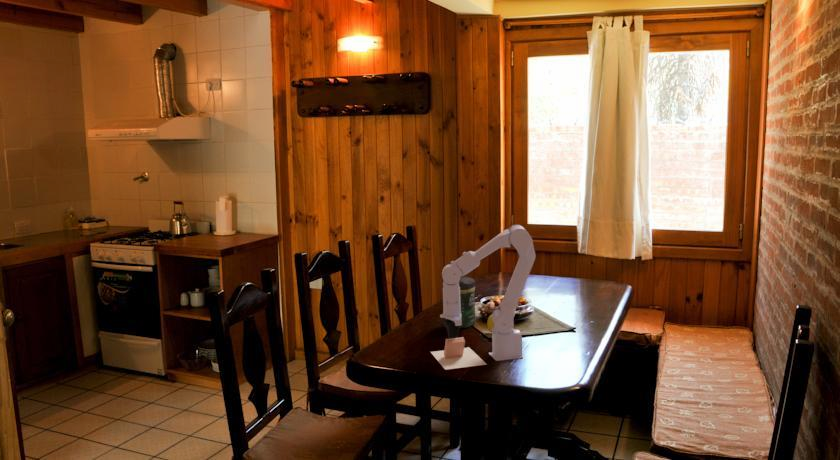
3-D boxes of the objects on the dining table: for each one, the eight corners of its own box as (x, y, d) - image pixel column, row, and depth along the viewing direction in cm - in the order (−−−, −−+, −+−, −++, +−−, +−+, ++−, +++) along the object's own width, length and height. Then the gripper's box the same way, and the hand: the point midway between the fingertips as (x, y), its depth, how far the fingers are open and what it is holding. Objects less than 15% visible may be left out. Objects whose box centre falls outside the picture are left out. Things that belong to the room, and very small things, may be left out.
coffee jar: (467, 329, 255) (466, 281, 252) (449, 327, 259) (447, 280, 256) (479, 323, 263) (478, 276, 260) (461, 320, 267) (460, 274, 264)
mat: (469, 348, 233) (469, 347, 233) (486, 365, 216) (486, 364, 216) (430, 353, 230) (430, 351, 230) (445, 370, 212) (445, 369, 212)
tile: (460, 351, 226) (463, 337, 222) (462, 356, 224) (465, 341, 220) (443, 353, 224) (445, 339, 220) (445, 358, 223) (447, 343, 219)
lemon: (501, 331, 251) (500, 310, 250) (503, 336, 245) (503, 314, 244) (486, 332, 251) (486, 311, 249) (488, 336, 245) (488, 315, 244)
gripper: (434, 297, 227) (435, 335, 229) (446, 307, 213) (447, 349, 215) (454, 295, 229) (455, 333, 231) (467, 305, 215) (468, 346, 217)
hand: (453, 340), depth 223 cm, fingers closed
